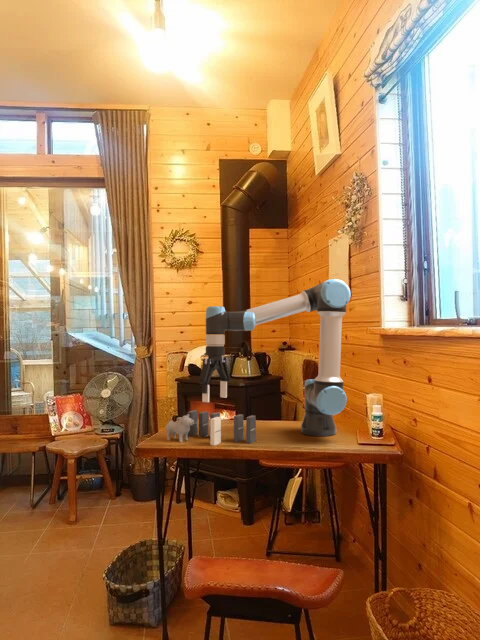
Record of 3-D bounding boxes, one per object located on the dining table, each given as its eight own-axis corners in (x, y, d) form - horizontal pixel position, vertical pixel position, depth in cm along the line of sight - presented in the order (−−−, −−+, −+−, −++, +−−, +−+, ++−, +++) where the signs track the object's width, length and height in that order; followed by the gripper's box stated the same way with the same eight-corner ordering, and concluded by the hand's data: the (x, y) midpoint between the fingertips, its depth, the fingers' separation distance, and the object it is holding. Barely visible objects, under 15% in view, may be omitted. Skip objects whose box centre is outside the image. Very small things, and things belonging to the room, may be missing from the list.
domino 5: (255, 440, 180) (255, 415, 181) (250, 443, 176) (250, 417, 176) (251, 440, 181) (251, 415, 182) (246, 443, 177) (246, 417, 177)
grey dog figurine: (188, 443, 176) (188, 416, 176) (164, 439, 183) (164, 413, 183) (196, 441, 180) (196, 414, 181) (172, 437, 187) (172, 411, 188)
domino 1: (197, 434, 193) (197, 410, 193) (191, 436, 188) (191, 412, 189) (193, 433, 194) (193, 410, 194) (187, 435, 189) (187, 412, 190)
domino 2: (208, 435, 190) (208, 411, 191) (202, 437, 186) (202, 413, 186) (204, 434, 191) (204, 411, 192) (198, 437, 187) (198, 413, 187)
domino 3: (220, 436, 188) (220, 412, 188) (214, 439, 183) (213, 414, 184) (216, 436, 189) (216, 412, 189) (209, 438, 184) (209, 414, 185)
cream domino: (221, 442, 177) (220, 417, 178) (214, 445, 173) (214, 419, 173) (216, 442, 178) (216, 416, 179) (210, 445, 174) (210, 419, 174)
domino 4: (243, 439, 183) (243, 414, 183) (238, 442, 178) (237, 416, 179) (239, 438, 184) (239, 414, 184) (233, 441, 179) (233, 416, 180)
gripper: (222, 344, 190) (222, 395, 190) (189, 346, 168) (189, 403, 168) (238, 345, 187) (238, 396, 186) (206, 346, 165) (206, 404, 164)
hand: (215, 399), depth 177 cm, fingers open, 13 cm apart
